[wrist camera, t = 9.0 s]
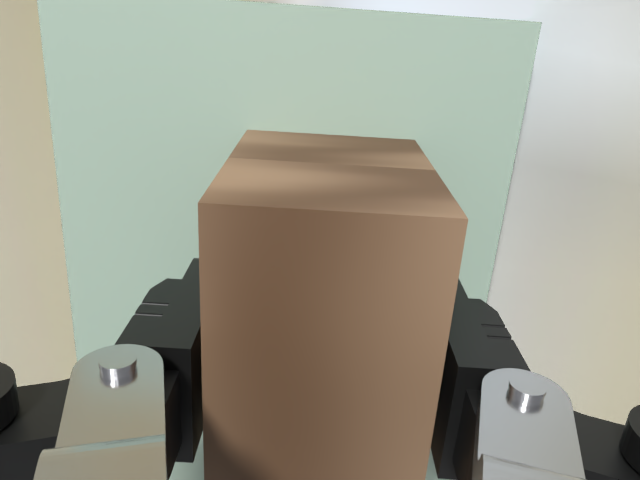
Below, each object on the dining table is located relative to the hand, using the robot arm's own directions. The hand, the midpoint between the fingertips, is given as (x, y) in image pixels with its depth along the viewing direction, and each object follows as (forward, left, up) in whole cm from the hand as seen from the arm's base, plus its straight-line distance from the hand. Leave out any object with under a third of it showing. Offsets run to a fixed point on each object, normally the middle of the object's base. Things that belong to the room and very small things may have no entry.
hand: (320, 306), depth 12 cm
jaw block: (0, 0, -1) cm, 1 cm away
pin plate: (+1, +1, -2) cm, 3 cm away
